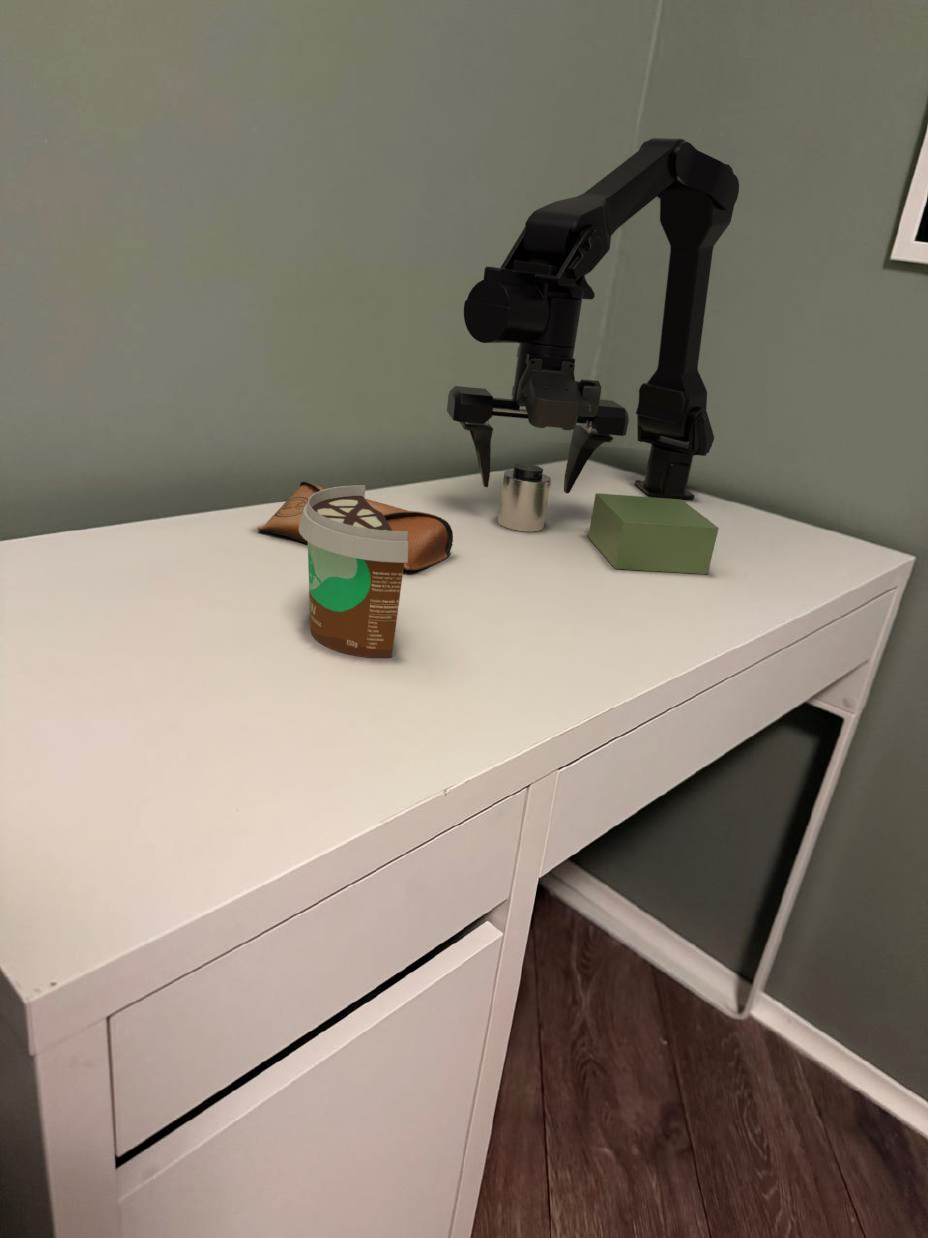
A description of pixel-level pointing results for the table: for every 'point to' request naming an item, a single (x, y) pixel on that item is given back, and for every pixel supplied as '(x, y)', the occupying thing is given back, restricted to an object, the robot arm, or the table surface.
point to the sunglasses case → (424, 530)
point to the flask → (524, 498)
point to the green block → (652, 534)
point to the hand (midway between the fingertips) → (526, 489)
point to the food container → (352, 572)
